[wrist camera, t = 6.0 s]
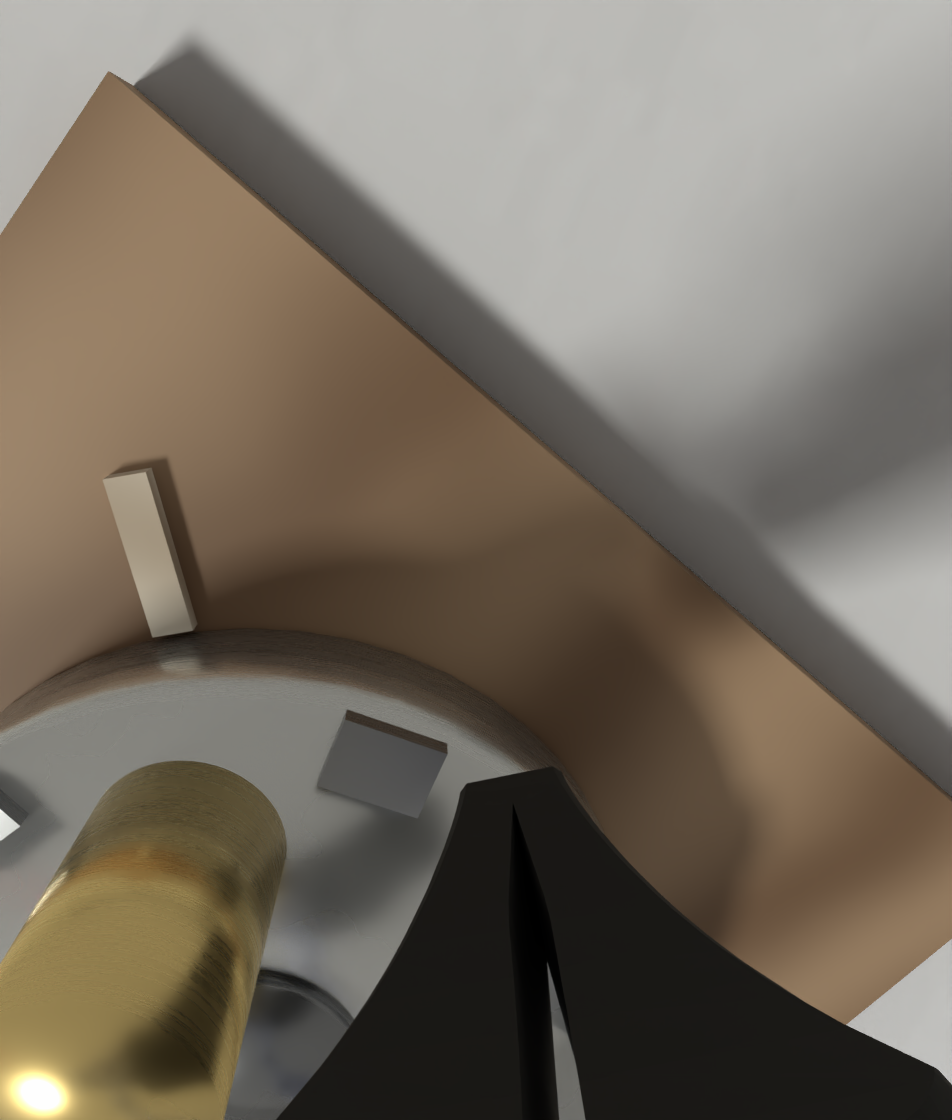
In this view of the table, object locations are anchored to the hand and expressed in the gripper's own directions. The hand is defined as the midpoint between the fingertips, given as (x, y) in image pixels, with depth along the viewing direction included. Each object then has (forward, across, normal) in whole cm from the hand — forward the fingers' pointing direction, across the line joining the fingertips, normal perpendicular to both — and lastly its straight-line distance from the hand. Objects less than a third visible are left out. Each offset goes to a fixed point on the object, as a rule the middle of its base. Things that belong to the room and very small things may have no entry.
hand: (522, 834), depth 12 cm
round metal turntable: (+4, +6, +4) cm, 8 cm away
